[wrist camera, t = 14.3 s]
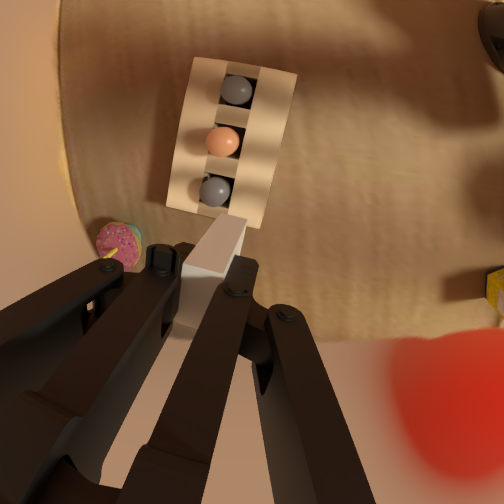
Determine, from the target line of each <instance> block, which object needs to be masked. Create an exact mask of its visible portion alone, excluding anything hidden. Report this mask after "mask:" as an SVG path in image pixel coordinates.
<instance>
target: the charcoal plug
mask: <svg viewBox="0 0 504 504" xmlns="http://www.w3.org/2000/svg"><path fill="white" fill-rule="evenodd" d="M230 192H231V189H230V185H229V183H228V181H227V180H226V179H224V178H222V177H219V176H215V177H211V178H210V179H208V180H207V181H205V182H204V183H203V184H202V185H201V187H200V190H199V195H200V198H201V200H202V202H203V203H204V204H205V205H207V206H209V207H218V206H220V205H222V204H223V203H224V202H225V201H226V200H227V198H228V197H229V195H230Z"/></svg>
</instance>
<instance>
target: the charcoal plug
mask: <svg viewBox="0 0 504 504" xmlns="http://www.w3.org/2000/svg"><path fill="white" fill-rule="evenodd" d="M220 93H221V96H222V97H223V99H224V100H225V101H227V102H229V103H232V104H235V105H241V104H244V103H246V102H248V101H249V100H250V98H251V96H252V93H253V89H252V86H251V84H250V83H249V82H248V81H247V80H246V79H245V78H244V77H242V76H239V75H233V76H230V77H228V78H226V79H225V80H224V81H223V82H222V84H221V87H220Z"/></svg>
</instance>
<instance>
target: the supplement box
mask: <svg viewBox="0 0 504 504" xmlns="http://www.w3.org/2000/svg"><path fill="white" fill-rule="evenodd" d="M485 298H486V299H487V300H488V301H489V303H490V304H491V305H492V306H493V307H494V308H495V309H496V311H497V312H498V313H499V314H500V315H501V317H502V318H503V319H504V266H503V267H501V268H498V269H495V270H493V271H490V272H488V273H486V287H485Z"/></svg>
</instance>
